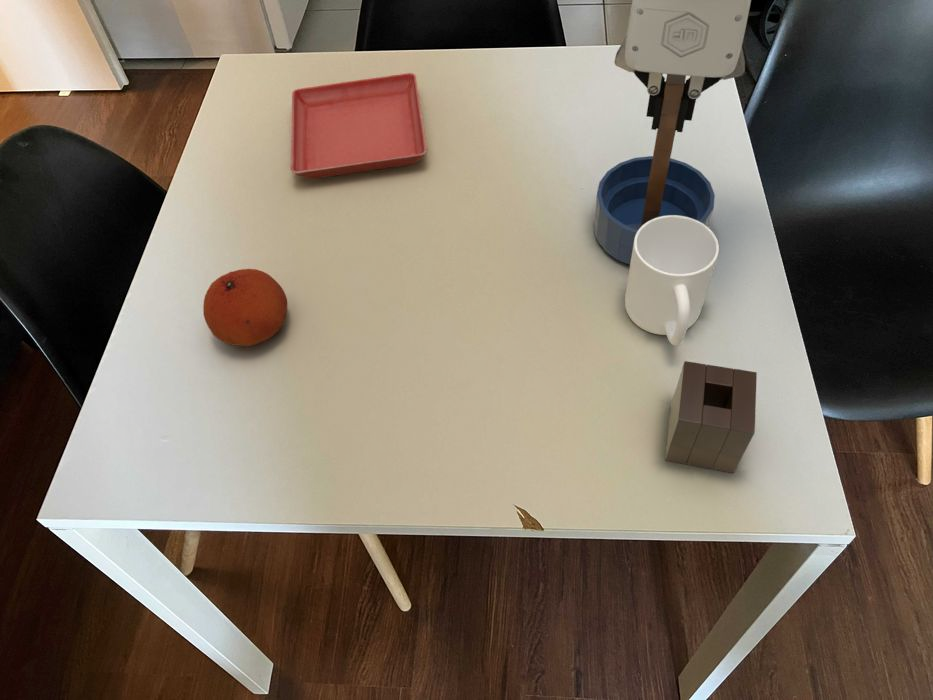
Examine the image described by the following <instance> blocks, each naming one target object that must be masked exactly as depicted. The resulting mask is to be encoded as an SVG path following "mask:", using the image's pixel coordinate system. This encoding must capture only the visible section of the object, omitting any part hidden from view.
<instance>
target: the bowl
mask: <svg viewBox="0 0 933 700" xmlns="http://www.w3.org/2000/svg"><path fill="white" fill-rule="evenodd" d="M652 159H653V155H649V156H648V155H647V156H639V157H633V158H630V159H627V160H624V161H621V162H618V164H616V165H614V166H613V167H611V168H609V170H607V171H606V173H605V174H604V175H603V177H602V178H601V179H600V181H599V183H598V187H597V191H596V197H595V198H596V199H595V209H594V221H593V229H594V234H595V238H596V241H597V242H598V243H599V245H600V246H601V247H602V249H603V250H604V252H606V253H607V254H608V255H610V256H611V257H613V259H615V260H617V261H618V262H622V263H624V264H627V265H629V266H630V263H631V257H632V251H633V245H634V238H635V235H636V233H637V231H638V230H639V229H640V228H641V223H642V217H643V211H644V205H645V199H646V194H647V188H648V182H649V176H650V170H651V165H652ZM715 197H716V193H715V192H714V189H713V187H712V183H711V182H710V181H709V180H708V178H707V177H706V176H705V175H704V174H703V173H702V171H700V170H698V169H697V168H696V167H694V166H692V165H690V164H689V163H687V162H685V161H681V160H678V159H676V158H672V157H670V162H669V167H668V172H667V177H666V182H665V187H664V192H663V197H662V203H661V208H660V213H659V217H661V216H668V215H678V216H685V217H689V218H692V219H695V220H697V221H699V222H701V223H703V224H704V225H706V226H707V227H708V228H709V226H710V222H711V219H712V215H713V212H714V209H715Z"/></svg>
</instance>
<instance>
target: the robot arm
mask: <svg viewBox="0 0 933 700" xmlns="http://www.w3.org/2000/svg"><path fill="white" fill-rule="evenodd" d="M751 3H752V0H632V1H631V6H630V11H629V12H630V13H629V18H628V24H627V31H626V35H625V37H624V39H623V41H622V42H621V44H620V46H619V48H618V49H617V51H616V54H615V58H614V62H613V63H614V65H615V66H616V67H618V68H620V69H622V70H625V71H626V72H629V73H633V74H634V76H635V77H636V78H637V79H638V80H639V81H640V82H641V83H642V84H643V85H644V87H646V92H647V94H648V95H649V96H648V104H647V109H646V116H645V117H648V118H652V122H651V128H650V130H652V131H657V130H658V129H659V123H660V117H661V112H662V106H663V100H664V89H665V83H666V78H665V76H664V75H667V74H673V75H685V76H686V77H689V78H686V79H685V86H684V91H683V96H682V98H681V103H680V108H679V113H678V118H677V123H676V128H675V130H676V133H683V130H684V125H685V121H690V122H692V119H693V115H694V111H695V106H696V102H697V99H699V98H700V97H701V95H702V93H703V92H705V91H706V90H708V89H709V88H711V87H713V86H715V85H716V84H717V83H719V82H720V81H725V80H729V79H730V80H731V79H734V78H738V77H742V76H743V75H744V74H745V71H746V61H745V60H746V59H745V54H744V48H743V43H744V38H745V34H746V28H747V24H748V18H749V14H750V13H749V12H750V8H751Z"/></svg>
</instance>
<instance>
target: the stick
mask: <svg viewBox="0 0 933 700" xmlns="http://www.w3.org/2000/svg"><path fill="white" fill-rule="evenodd" d="M686 80H687V76H685V75H673V74H666V78H665V81H666V83H665V89H664V100H663V106H662V112H661V117H660V123H659V129H656V136H655V142H654V148H653V152H652V153H653V154H652V156H653V159H652V165H651V170H650V176H649V182H648V188H647V194H646V199H645V205H644V211H643V217H642V223H641V227H642V226H643V225H644V224H645V223H647V222H648V221H650V220H652V219H654V218H657V217H659V213H660V208H661V203H662V197H663V192H664V187H665V182H666V177H667V172H668V167H669V162H670V158H672V152H673V146H674V141H675V136H676V133H677V130H675V128H676V123H677V118H678V113H679V108H680V103H681V98H682V96H683V91H684V86H685V83H686Z"/></svg>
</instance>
